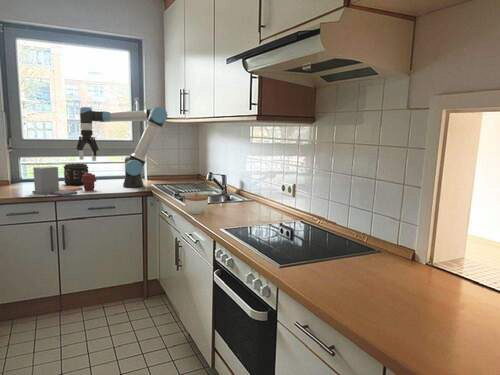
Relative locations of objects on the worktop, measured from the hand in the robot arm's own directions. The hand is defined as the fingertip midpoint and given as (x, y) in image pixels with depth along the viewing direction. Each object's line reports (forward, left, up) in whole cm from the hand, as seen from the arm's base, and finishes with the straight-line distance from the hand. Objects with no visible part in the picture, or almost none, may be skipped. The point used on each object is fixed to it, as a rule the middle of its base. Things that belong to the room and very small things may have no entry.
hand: (87, 160), depth 260 cm
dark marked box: (+32, -13, -22) cm, 41 cm away
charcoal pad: (0, +19, -22) cm, 29 cm away
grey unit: (+13, +23, -22) cm, 34 cm away
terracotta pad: (+13, +8, -22) cm, 26 cm away
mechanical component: (0, 0, -22) cm, 22 cm away
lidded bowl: (-106, +13, -22) cm, 109 cm away
